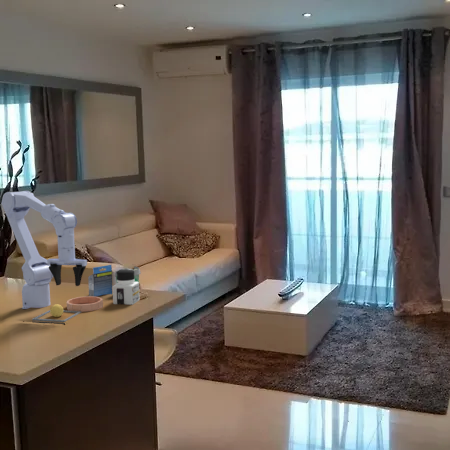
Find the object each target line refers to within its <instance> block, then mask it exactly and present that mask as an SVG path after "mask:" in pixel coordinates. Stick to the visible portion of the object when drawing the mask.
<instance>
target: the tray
mask: <svg viewBox="0 0 450 450" xmlns="http://www.w3.org/2000/svg"><path fill="white" fill-rule="evenodd" d="M49 313H50V309H49V310H47V311H45V312H43V313H41V314H39V315H37V316H36V317H33V318H31V320H32V321H31V322H32V323H37V324H52V323H54V325H56V324H57V325H66V324H65V323H66V322H67V321H69V320H71V319H72V318H74V317H76V316H77V315H80V314H82V312H81V311H69V310H64V309H63V313H74V314H72V315H70V316H68V317H67V318H65V319H50V318H41V317H43V316H45V315H47V314H49Z"/></svg>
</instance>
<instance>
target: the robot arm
mask: <svg viewBox="0 0 450 450" xmlns="http://www.w3.org/2000/svg"><path fill="white" fill-rule="evenodd" d="M1 199H2V200H1V205H2V208H3V211H4V212H5V215H6V217H7V221H8V222H9V225H10V228H11V230H12V232H13V235H14V237H15V240H16V242H17V245H18V247H19V249H20V252H21V254H22V257H23V258H24V260H25V262H24V263H23V265H22V266H21V271H22V275H23V276H22V277H23V280H24V282H25V283H24V284H23V286H22V289H21V296H22V297H21V299H22V300H21V302H22V307H21V309H22V310H28V309H30V308H33V309H34V308H35V309H36V308H41V309H42V308H45V307H46V308H47V307H49V306H51V293H50V283H51V281H52V279H53V280H54V282H55V285H56V286H60V285H61V284H62V276H61V275H62V267H63V266H73V267H72V271H73V274H74V284H75V287H80V286H81V283H82V278H83V274H84V272H85V270H86V269H87V268H86V267H87V266H88V260H87V259H81V258H76V249H75V248H76V247H75V228H76V227H77V224H78V219H77V216H76V214H74V213H73V212H70V211H69V212H65V210H63V209H60V208H58V207H57V206H56V204H54V203H48V204H46V203H45V202H43V201H42V200H40V199H39V198H37V197H36V196H35V194H34V193H33V192H31V191H29V190H23V191H12V192H11V191H7V192H5V193H4V194H3V196H2V198H1ZM30 209H32V210H34V211H35V212H38V213H40V216H41V218H43V220H46V221H47V222H49V223H51V224H52V225H53V228H54V229H55V234H56V236H57V238H56V239H57V253H58V254H57V255H58V258H48V259H47V258H44V257H43V256H41V255H40V253H39V251H38V247H37V246H36V244H35V242H34V239H33V237H32V234H31V232H30V230H29V229H30V228H29V227H28V225H27V222H26V219H25V216H26V215H28V213H29V211H30Z"/></svg>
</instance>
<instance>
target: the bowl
mask: <svg viewBox="0 0 450 450" xmlns="http://www.w3.org/2000/svg"><path fill="white" fill-rule="evenodd" d="M103 307H104V300H103V297H100V296H95V297H93V296H89V295H88V296H77V297H73V298H70V299H67V301H66V309H67V310H66V311H81V313H85V312H93V311H97V310H100V309H102V308H103Z"/></svg>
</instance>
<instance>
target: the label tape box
mask: <svg viewBox="0 0 450 450" xmlns="http://www.w3.org/2000/svg"><path fill="white" fill-rule="evenodd" d="M112 267H113V266H112V264H108V265H101V266H95V267H92V271H93V272H92V274H91V275H89V276H88V296H93V297H100V296H103V295H113V269H112Z"/></svg>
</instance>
